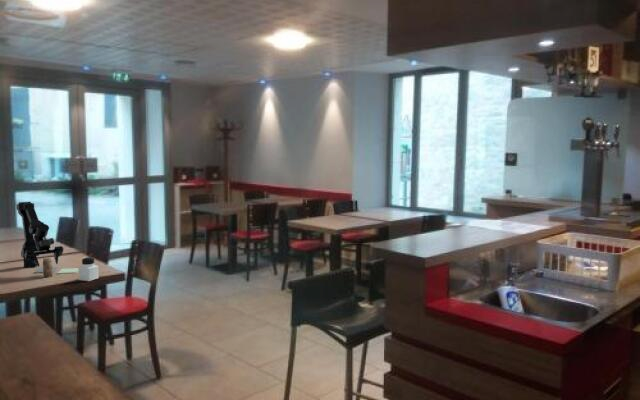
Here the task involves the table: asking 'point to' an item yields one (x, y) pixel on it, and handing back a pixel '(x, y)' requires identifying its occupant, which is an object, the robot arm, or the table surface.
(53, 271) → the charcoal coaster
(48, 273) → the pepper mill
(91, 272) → the medicine bottle
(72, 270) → the sage coaster
